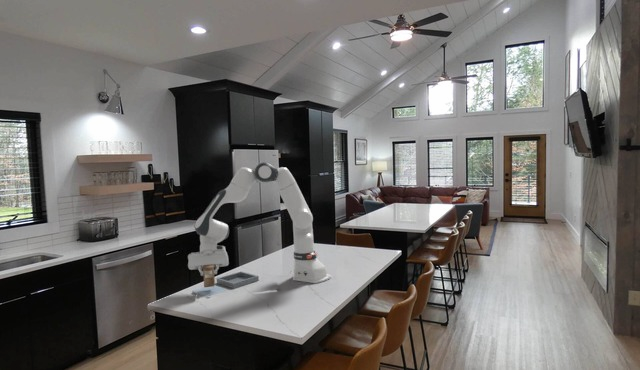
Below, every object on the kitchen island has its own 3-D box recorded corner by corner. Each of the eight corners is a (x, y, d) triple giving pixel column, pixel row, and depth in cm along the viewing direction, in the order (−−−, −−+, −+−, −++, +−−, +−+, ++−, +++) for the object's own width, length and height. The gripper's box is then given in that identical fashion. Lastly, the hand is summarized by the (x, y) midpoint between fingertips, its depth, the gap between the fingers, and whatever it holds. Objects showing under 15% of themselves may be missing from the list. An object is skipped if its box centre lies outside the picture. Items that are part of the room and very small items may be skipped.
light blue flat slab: (228, 291, 196) (227, 289, 196) (206, 298, 188) (206, 296, 187) (213, 286, 206) (212, 284, 206) (192, 292, 197) (192, 291, 197)
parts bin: (258, 282, 209) (258, 276, 209) (234, 290, 198) (233, 283, 198) (241, 277, 220) (241, 271, 220) (216, 284, 209) (216, 278, 208)
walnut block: (214, 283, 200) (213, 264, 199) (214, 286, 194) (213, 266, 194) (204, 284, 198) (203, 265, 198) (204, 287, 193) (202, 267, 193)
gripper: (187, 249, 200) (186, 273, 191) (227, 246, 204) (228, 269, 195) (188, 256, 204) (188, 279, 195) (228, 252, 209) (229, 275, 200)
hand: (208, 274), depth 195 cm, fingers closed on walnut block, 5 cm apart
